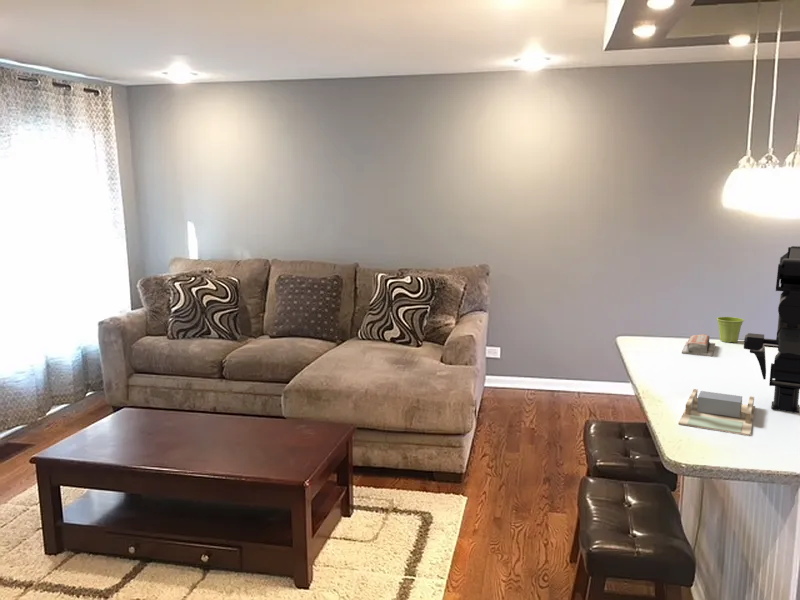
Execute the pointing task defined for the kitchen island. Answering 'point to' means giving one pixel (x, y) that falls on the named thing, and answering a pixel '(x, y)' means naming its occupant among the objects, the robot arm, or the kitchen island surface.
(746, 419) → the beige wooden tray
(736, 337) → the plant pot
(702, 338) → the packaged product
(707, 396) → the slate block
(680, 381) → the kitchen island surface
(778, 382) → the robot arm
